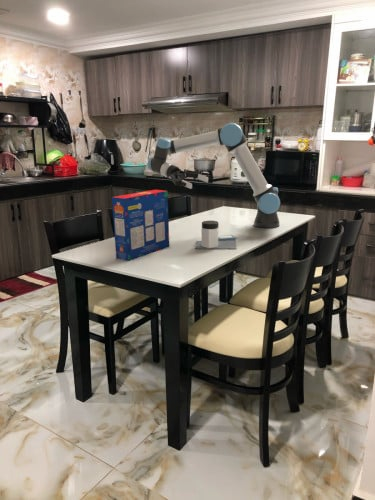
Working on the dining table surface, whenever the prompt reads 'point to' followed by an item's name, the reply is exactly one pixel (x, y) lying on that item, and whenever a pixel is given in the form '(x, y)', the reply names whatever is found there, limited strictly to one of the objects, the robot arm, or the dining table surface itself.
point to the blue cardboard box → (140, 223)
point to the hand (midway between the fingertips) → (199, 183)
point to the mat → (220, 246)
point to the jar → (210, 234)
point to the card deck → (226, 238)
